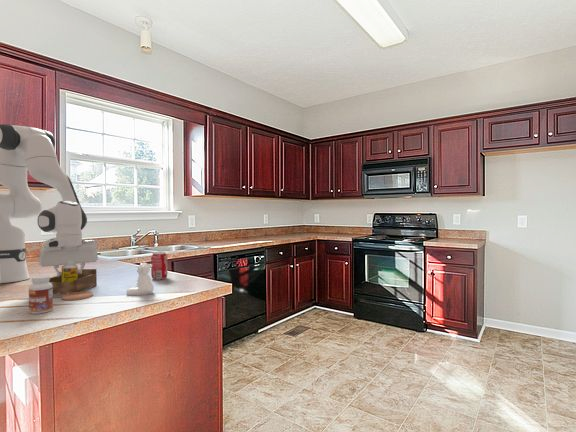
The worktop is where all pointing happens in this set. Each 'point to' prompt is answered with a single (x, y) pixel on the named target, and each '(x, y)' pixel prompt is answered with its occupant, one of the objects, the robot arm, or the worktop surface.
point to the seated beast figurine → (142, 281)
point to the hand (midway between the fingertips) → (69, 275)
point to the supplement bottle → (69, 272)
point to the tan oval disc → (77, 295)
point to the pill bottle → (40, 295)
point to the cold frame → (80, 284)
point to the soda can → (159, 265)
